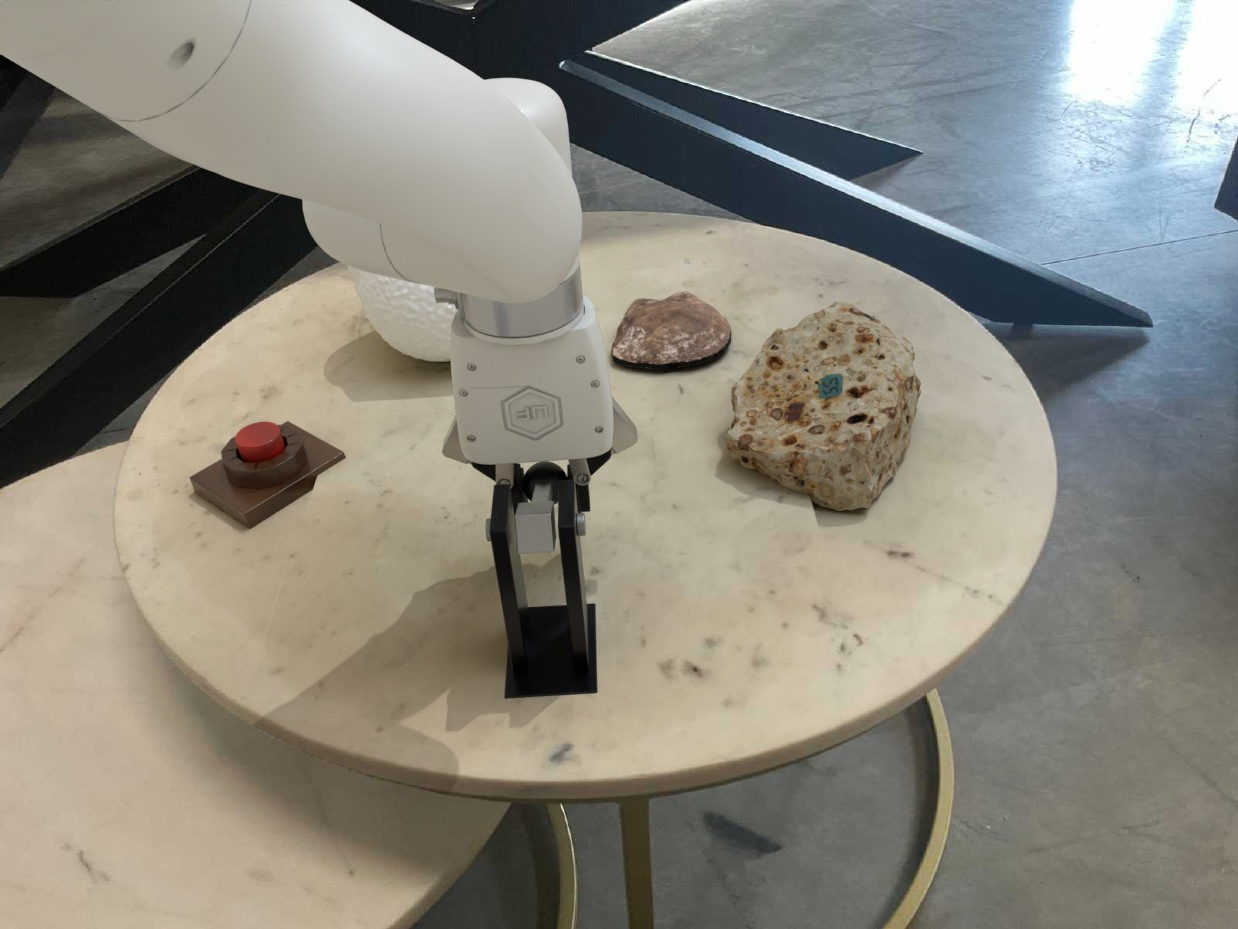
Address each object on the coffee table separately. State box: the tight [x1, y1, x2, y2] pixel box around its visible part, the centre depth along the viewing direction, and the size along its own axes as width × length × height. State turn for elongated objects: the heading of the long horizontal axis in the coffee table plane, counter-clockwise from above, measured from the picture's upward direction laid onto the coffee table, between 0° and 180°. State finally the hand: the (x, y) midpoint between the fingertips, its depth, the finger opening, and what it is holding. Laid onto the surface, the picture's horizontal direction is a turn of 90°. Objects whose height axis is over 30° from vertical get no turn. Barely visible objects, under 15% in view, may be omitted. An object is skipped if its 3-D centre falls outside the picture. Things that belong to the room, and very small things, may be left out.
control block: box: [189, 420, 346, 530], centre depth 86 cm, size 10×8×4 cm
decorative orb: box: [310, 252, 458, 363], centre depth 99 cm, size 20×18×16 cm
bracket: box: [484, 480, 598, 700], centre depth 66 cm, size 8×6×14 cm
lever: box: [515, 461, 567, 555], centre depth 68 cm, size 13×3×3 cm, turn 2°
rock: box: [723, 300, 922, 512], centre depth 87 cm, size 21×14×10 cm
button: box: [234, 421, 285, 463], centre depth 85 cm, size 4×4×2 cm
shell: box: [611, 290, 732, 373], centre depth 101 cm, size 12×13×4 cm
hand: (549, 516), depth 74 cm, fingers closed on lever, 3 cm apart
